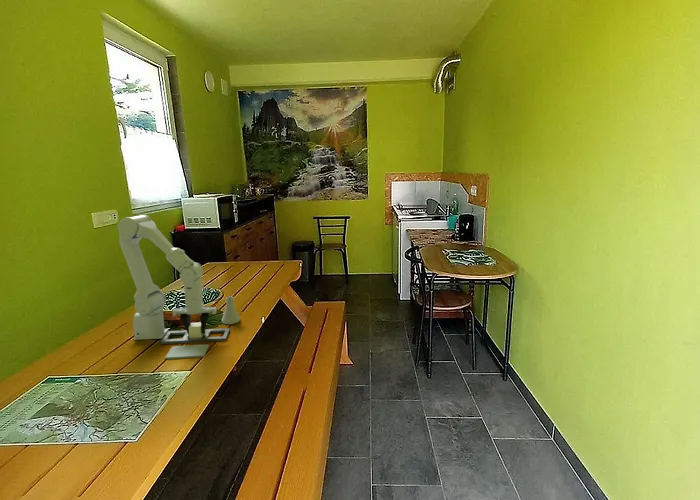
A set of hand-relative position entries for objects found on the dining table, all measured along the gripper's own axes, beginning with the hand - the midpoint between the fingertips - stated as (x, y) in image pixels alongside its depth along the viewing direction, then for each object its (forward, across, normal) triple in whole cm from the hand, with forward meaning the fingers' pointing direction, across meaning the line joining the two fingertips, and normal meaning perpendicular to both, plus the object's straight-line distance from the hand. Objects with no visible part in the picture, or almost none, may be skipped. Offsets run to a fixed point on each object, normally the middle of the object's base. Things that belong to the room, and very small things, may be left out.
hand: (196, 332), depth 136 cm
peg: (+2, 0, 0) cm, 2 cm away
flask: (+2, +10, +14) cm, 17 cm away
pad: (+2, 0, -12) cm, 12 cm away
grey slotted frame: (+2, 0, 0) cm, 2 cm away
